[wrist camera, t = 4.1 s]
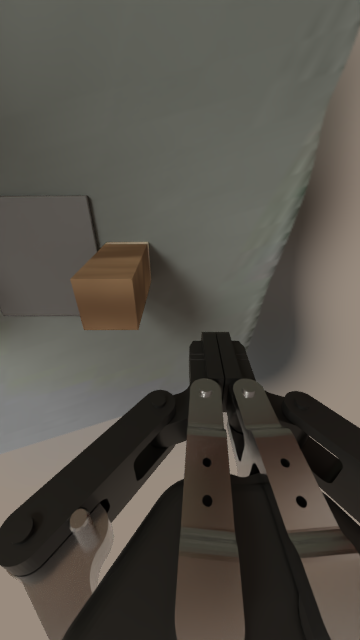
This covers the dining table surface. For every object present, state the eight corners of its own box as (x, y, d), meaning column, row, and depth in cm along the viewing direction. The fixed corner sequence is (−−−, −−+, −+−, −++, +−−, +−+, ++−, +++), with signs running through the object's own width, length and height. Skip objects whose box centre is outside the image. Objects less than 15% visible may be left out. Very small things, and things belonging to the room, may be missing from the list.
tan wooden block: (106, 242, 23) (70, 279, 15) (148, 241, 23) (132, 278, 15) (113, 280, 25) (84, 329, 18) (151, 280, 25) (138, 329, 18)
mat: (-50, 196, 21) (-53, 197, 21) (87, 195, 21) (85, 196, 20) (5, 313, 27) (3, 315, 27) (110, 313, 27) (109, 315, 27)
